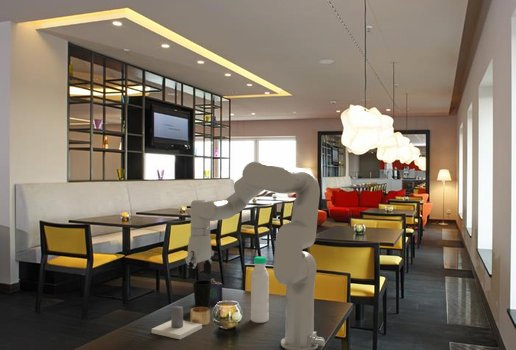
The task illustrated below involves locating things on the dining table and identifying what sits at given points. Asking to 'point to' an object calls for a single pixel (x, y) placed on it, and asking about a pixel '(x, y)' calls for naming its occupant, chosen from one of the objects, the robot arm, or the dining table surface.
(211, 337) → the dining table surface
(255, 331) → the dining table surface
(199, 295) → the cup
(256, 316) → the water bottle
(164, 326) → the stand
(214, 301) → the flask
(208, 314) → the collar
